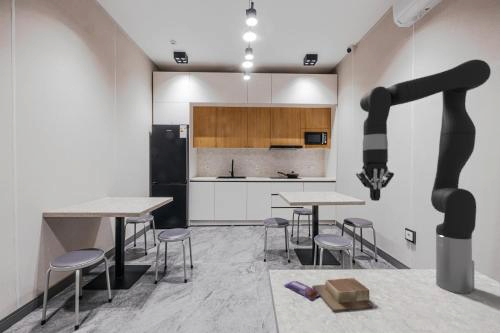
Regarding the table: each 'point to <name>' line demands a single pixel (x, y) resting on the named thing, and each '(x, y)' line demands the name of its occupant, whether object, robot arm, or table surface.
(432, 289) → the table surface
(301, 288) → the snack package
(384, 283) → the table surface
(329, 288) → the wooden block
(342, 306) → the walnut board
